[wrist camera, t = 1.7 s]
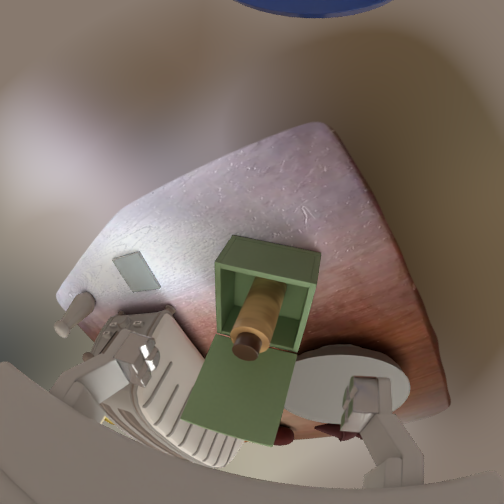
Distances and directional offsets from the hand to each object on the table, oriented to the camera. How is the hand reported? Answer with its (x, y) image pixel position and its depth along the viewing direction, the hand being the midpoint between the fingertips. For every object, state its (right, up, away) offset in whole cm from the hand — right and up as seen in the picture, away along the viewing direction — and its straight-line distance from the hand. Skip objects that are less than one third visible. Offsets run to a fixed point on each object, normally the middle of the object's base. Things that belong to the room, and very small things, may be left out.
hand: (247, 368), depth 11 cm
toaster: (-16, -23, +54) cm, 61 cm away
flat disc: (+18, -21, +42) cm, 50 cm away
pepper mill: (+3, 0, +32) cm, 32 cm away
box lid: (-1, -14, +25) cm, 29 cm away
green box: (+3, 0, +33) cm, 33 cm away
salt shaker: (-40, -7, +52) cm, 66 cm away
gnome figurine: (+24, -38, +51) cm, 68 cm away
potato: (+9, -47, +62) cm, 79 cm away
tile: (-22, +1, +41) cm, 46 cm away
